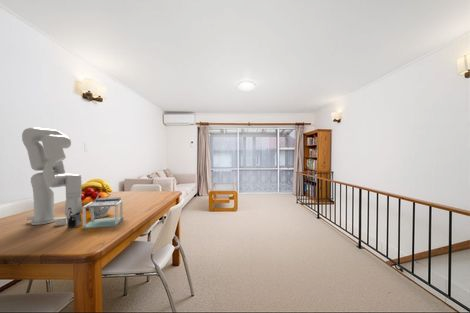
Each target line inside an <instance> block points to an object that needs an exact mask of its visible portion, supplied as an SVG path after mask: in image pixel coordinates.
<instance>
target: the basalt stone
mask: <svg viewBox="0 0 470 313" xmlns="http://www.w3.org/2000/svg"><path fill="white" fill-rule="evenodd" d="M72 217H73V216H72ZM74 219H75V226H73V227H72V228H75V227H76V228H78V227H79V226H80V225H82V214H81V213H80V214H78V215H75V217H74ZM66 225H67V228H69V227H68V218H67V224H66Z"/></svg>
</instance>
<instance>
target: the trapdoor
mask: <svg viewBox="0 0 470 313" xmlns="http://www.w3.org/2000/svg"><path fill="white" fill-rule="evenodd" d="M120 200H121V197H120V196H119V197H117V196H115V197H100V198H99V199H97V200H96V202H94V201H93V202H94V203H92V204H90V205H89V206H87V209H89V208H94V207H101V208H104V207H110V206H111V207H115V204H117V203H118V202H119V201H120ZM111 207H110V208H111Z"/></svg>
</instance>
